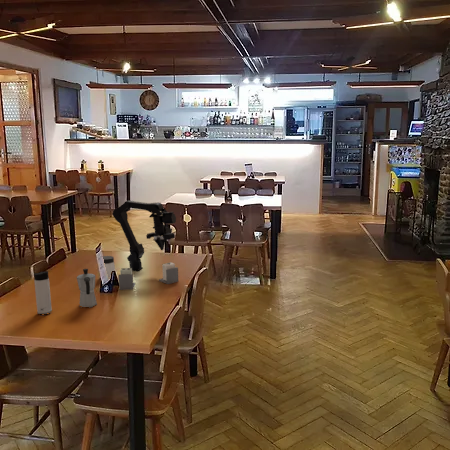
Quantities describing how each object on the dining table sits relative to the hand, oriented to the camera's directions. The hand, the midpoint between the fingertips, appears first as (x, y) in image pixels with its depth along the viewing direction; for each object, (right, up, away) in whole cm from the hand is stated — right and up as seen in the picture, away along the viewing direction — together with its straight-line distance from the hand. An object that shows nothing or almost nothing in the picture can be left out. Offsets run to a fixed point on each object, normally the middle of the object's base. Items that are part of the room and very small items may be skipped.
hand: (162, 250), depth 282 cm
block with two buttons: (-16, -17, -26) cm, 35 cm away
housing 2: (+6, -17, -16) cm, 24 cm away
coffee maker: (-29, -24, -51) cm, 64 cm away
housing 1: (-16, -19, -25) cm, 35 cm away
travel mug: (-47, -26, -60) cm, 81 cm away
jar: (-30, -16, -8) cm, 35 cm away
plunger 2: (+6, -15, -16) cm, 23 cm away
